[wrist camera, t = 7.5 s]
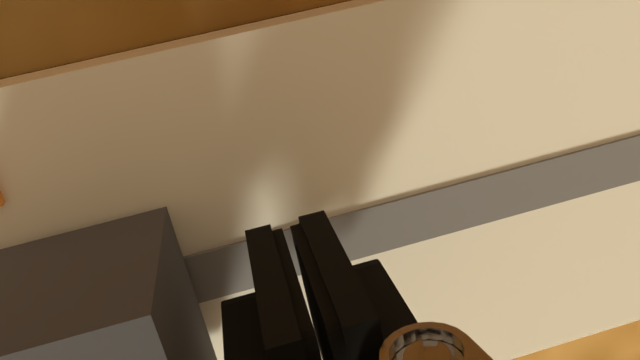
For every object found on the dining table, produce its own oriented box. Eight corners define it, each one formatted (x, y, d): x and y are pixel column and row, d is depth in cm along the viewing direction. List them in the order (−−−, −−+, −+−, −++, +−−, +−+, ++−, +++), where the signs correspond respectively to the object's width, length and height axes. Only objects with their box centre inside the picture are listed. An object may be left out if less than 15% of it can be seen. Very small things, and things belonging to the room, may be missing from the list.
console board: (686, -75, 14) (748, -82, 12) (670, 272, 18) (716, 301, 16) (-401, 169, 11) (-499, 201, 10) (-146, 517, 15) (-187, 581, 13)
